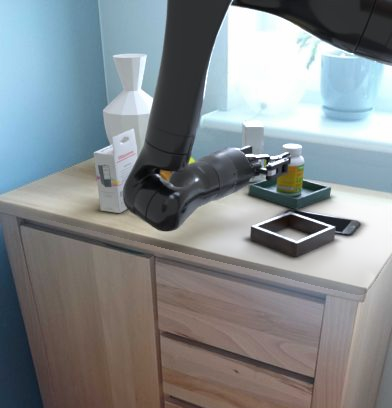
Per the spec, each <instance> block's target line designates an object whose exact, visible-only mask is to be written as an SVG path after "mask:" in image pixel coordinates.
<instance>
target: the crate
mask: <svg viewBox="0 0 392 408" xmlns="http://www.w3.org/2000/svg"><path fill="white" fill-rule="evenodd" d="M289 227H290V228H293V229H296V230H298V231H302V232H304V233H307V234H309V235H308V236H306V237H303V238H300V239H298V240H294V239H292V238H291V237H290V238H289V237H288V236H284V235H281V234H279V233H277V232H279V231H282V230H284V229H286V228H289ZM335 230H336V227H334V226H331V225H328V224H325V223H322V222H319V221H316V220H313V219H310V218H307V217H304V216H301V215H298V214H295V213H292V212H288V213H285V214H283V213H282V214H280V215H278V216H275V217H272V218H270V219H267V220H264V221H261V222H259V223H256V224H254V225H251V226H250V238H249V240H251V241H254V242H256V243H259V244H261V245H264V246H266V247H269V248H272V249H273V250H277V251H279V252H281V253H284V254H286V255H289V256H291V257H294V258H298V257H300V256H302V255H305V254H307V253H308V252H311V251H313V250H316V249H318V248H320V247H322V246H325V245H326V244H329V243H331V242H333V241H335V238H336V237H335V236H336V234H335Z"/></svg>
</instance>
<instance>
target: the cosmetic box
mask: <svg viewBox="0 0 392 408" xmlns="http://www.w3.org/2000/svg"><path fill="white" fill-rule="evenodd" d="M241 125H242V126H241V127H242V128H241V136H242V137H241V139H242V140H241V148H243V147H246V146H252V154H253V155H264V148H265V147H264V145H265V126H264V125H263V123H262V122H261V121H260V120H249V121H242V124H241ZM261 165H262V167H264V159H263V160H261ZM263 180H264V176H255V177H254V178H251V179H250V180H249V182H248V183H256V182H259V181H263Z"/></svg>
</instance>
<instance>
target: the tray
mask: <svg viewBox="0 0 392 408" xmlns="http://www.w3.org/2000/svg"><path fill="white" fill-rule="evenodd" d="M276 187H277V178H275V179H273V180H270V181H268V180H266V179H263V180H262V181H259V182H252V183H250V184H249V186H248V195H250V196H253V197H257V198H260V199H263V200H265V201H268V202H271V203H275V204H278V205H281V206H284V207H287V208H290V209H292V210H299V209H301V208H304V207H306V206H310V205H312V204H314V203H317V202H320V201H323V200H325V199H327V198H330V197H331V192H332V186H328V185H325V184H322V183H318V182H314V181H311V180H308V179H304V178H303V183H302V192H301V194H300V195H297V196H288V195H285V194H281V193H278V192H276Z"/></svg>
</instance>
